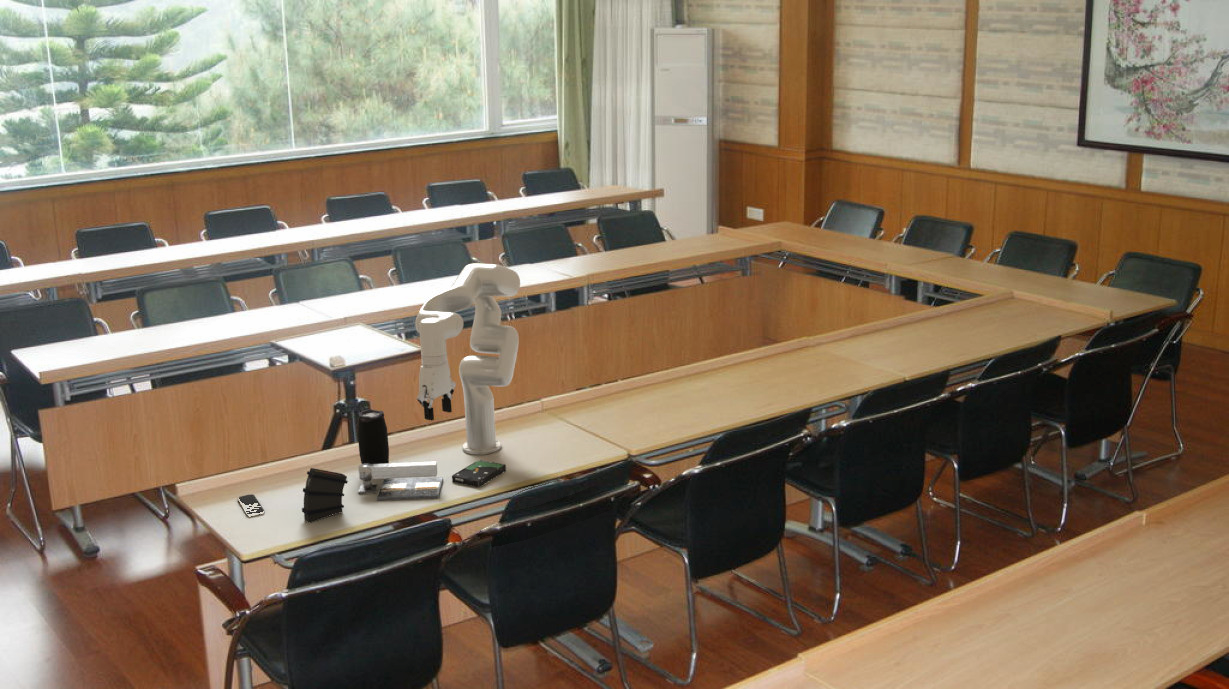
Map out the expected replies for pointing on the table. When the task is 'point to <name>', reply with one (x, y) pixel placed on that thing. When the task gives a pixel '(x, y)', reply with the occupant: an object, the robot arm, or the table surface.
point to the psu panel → (410, 488)
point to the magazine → (323, 494)
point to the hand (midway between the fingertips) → (438, 415)
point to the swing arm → (397, 470)
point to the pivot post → (367, 487)
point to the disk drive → (478, 473)
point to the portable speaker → (373, 437)
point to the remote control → (251, 500)
